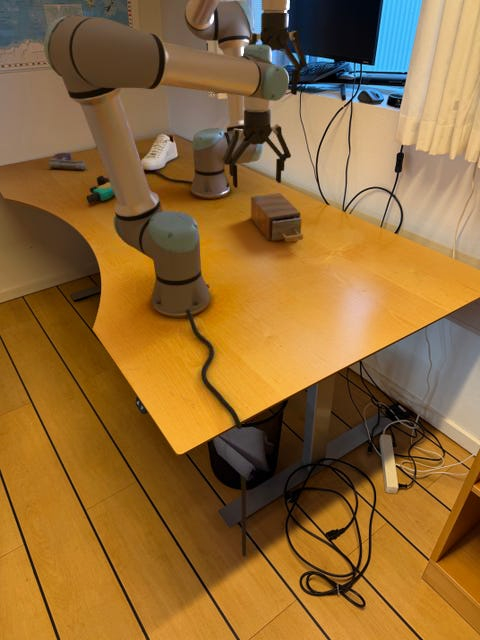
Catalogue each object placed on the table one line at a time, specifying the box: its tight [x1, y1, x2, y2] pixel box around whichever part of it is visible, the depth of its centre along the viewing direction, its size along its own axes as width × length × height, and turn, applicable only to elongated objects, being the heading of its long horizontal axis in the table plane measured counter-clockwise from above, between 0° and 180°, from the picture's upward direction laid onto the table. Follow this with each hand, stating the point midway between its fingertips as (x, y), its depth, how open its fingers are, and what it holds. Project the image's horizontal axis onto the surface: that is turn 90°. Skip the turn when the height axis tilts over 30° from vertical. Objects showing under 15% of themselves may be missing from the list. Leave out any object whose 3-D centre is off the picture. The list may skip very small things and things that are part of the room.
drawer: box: [271, 216, 304, 243], centre depth 155 cm, size 23×10×6 cm, turn 17°
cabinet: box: [250, 192, 301, 241], centre depth 160 cm, size 18×11×8 cm, turn 17°
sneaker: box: [140, 133, 179, 171], centre depth 214 cm, size 10×29×12 cm, turn 163°
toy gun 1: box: [47, 152, 87, 171], centre depth 216 cm, size 4×19×15 cm
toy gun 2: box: [86, 175, 115, 204], centre depth 187 cm, size 4×26×15 cm
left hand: (256, 183), depth 144 cm, fingers open, 13 cm apart
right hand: (272, 95), depth 143 cm, fingers open, 13 cm apart
